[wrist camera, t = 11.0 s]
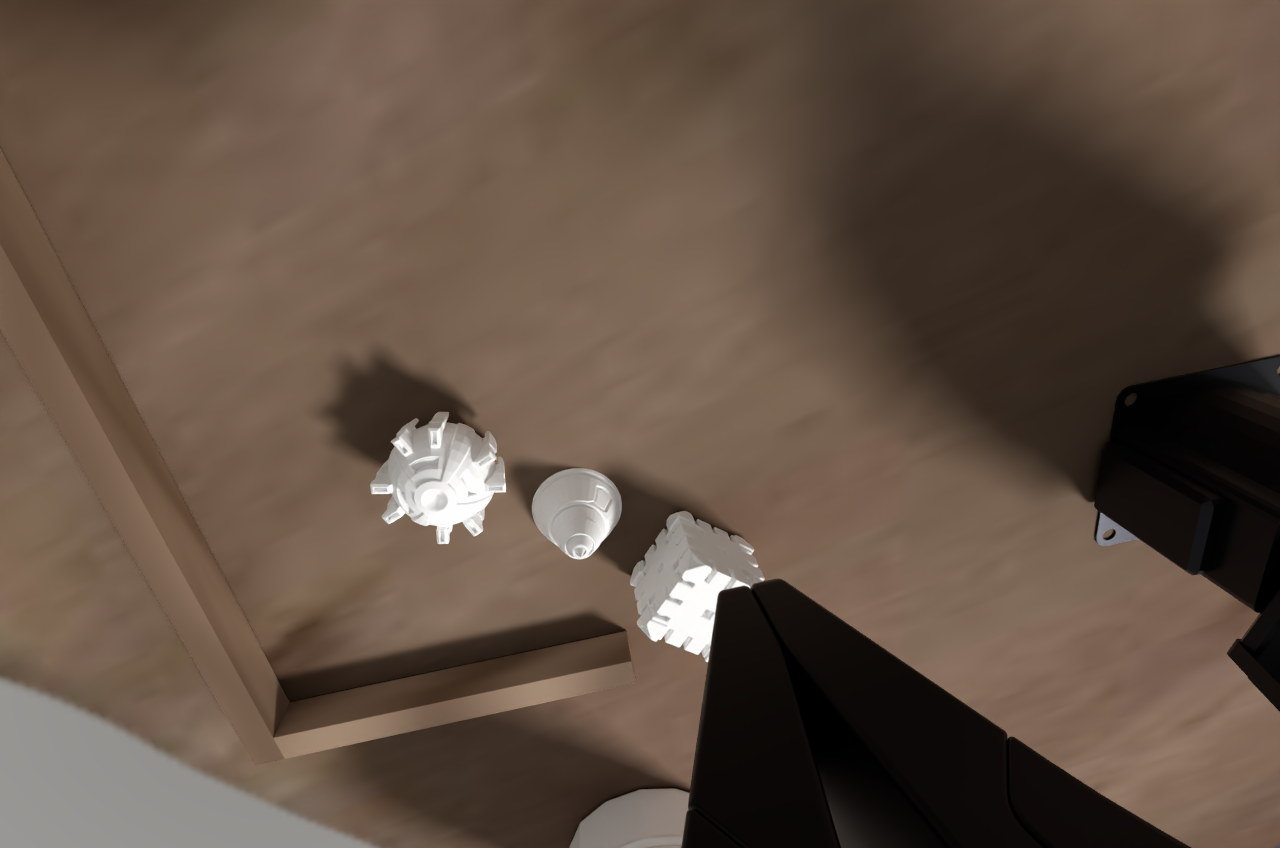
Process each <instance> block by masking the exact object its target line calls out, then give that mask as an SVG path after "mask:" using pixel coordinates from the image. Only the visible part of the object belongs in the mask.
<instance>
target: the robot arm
mask: <svg viewBox="0 0 1280 848" xmlns="http://www.w3.org/2000/svg"><path fill="white" fill-rule="evenodd" d="M1279 366H1280V356H1275V357H1270V358H1265V359H1260V360H1255V361H1250V362H1245V363H1240V364H1235V365H1230V366H1225V367H1220V368H1215V369H1210V370H1205V371H1200V372H1195V373H1190V374H1185V375H1181V376H1176V377H1171V378H1166V379H1161V380H1156V381H1151V382H1146V383H1141V384H1136V385H1131V386H1129V387H1126V388H1125V389H1124V390H1122V391H1121V393H1120V394H1119V395H1118V397H1117V400H1116V404H1115V410H1114V417H1113V423H1112V429H1111V436H1110V442H1108V443H1106V444H1105V445H1104V448H1103V451H1102V458H1101V464H1100V471H1099V478H1098V484H1097V491H1096V497H1095V504H1094V507H1095V508H1096V509H1097V510H1098V511H1099V513H1098V520H1097V526H1096V532H1095V540H1096V542H1097V543H1098V544H1100V545H1102V546H1108V545H1113V544H1118V543H1122V542H1127V541H1132V540H1136V539H1140V540H1141V541H1143V542H1144V543H1146V544H1147V545H1148V546H1150V547H1151V548H1153V549H1154V550H1156V551H1157V552H1159V553H1160V554H1161V555H1163V556H1164V557H1166V558H1167V559H1169V560H1170V561H1172V562H1173V563H1174V564H1176V565H1177V566H1179V567H1180V568H1182V569H1183V570H1185V571H1186V572H1187V573H1189V574H1191V575H1197V574H1201V575H1202V576H1204V577H1205V578H1207V579H1208V580H1210V581H1211V582H1213V583H1214V584H1216V585H1217V586H1218V587H1220V588H1221V589H1223V590H1224V591H1226V592H1227V593H1229V594H1230V595H1232V596H1233V597H1235V598H1236V599H1238V600H1239V601H1241V602H1242V603H1243V604H1245V605H1246V606H1248V607H1249V608H1251V609H1252V610H1254V611H1255V612H1257V613H1260V614H1259V615H1258V617H1257V618H1256V620H1255V621H1254V622H1253V624H1252V625H1251V626H1250V628H1249V629H1248V631H1247V632H1246V633H1245V635H1244V636H1243V638H1242V639H1236V641H1235V642H1234V643H1233V645H1232V646H1231V648H1230V649H1229V650H1228V652H1227V654H1228V656H1229V657H1230V658H1231V659H1232V660H1233V661H1234V662H1235V663H1236V664H1237V665H1238V666H1239V668H1240V669H1241V670H1242V671H1243V672H1244V673H1245V674H1246V675H1247V677H1248V678H1249V680H1250V681H1251V682H1252V683H1253V684H1254V685H1255V686H1256V687H1257V688H1258V689H1259V690H1260V691H1261V692H1262V693H1263V694H1264V696H1265V697H1266V698H1267V699H1268V700H1269V701H1270V702H1271V703H1272V704H1273V705H1274V706H1275V707H1276V708H1277V709H1278V710H1279V711H1280V375H1278V374H1277V369H1278V367H1279ZM1131 393H1136V394H1137V399H1136V401H1135V402H1134V403H1133V404H1132V405H1129V406H1126V405H1125V399H1126V397H1127V396H1128V395H1129V394H1131ZM1109 529H1114V534H1113V535H1112V536H1111V537H1110V538H1108V539H1103V534H1104V533H1105V532H1106V531H1107V530H1109ZM681 848H1191V847H1189V846H1187V845H1186V844H1184V843H1182V842H1180V841H1179V840H1177V839H1175V838H1173V837H1172V836H1170V835H1168V834H1166V833H1165V832H1163V831H1161V830H1160V829H1158V828H1156V827H1155V826H1153V825H1151V824H1150V823H1148V822H1146V821H1145V820H1143V819H1141V818H1140V817H1138V816H1136V815H1135V814H1133V813H1131V812H1130V811H1128V810H1126V809H1125V808H1123V807H1121V806H1119V805H1118V804H1116V803H1114V802H1113V801H1111V800H1109V799H1108V798H1106V797H1104V796H1103V795H1101V794H1099V793H1098V792H1096V791H1095V790H1093V789H1092V788H1090V787H1089V786H1087V785H1086V784H1084V783H1082V782H1081V781H1079V780H1078V779H1076V778H1075V777H1073V776H1072V775H1070V774H1069V773H1067V772H1066V771H1064V770H1063V769H1061V768H1059V767H1058V766H1056V765H1055V764H1053V763H1052V762H1050V761H1049V760H1047V759H1046V758H1044V757H1043V756H1041V755H1040V754H1038V753H1037V752H1035V751H1034V750H1032V749H1031V748H1029V747H1028V746H1027V745H1025V744H1024V743H1022V742H1021V741H1019V740H1018V739H1016V738H1015V737H1009V738H1008V740H1007V733H1006V732H1005V731H1004V730H1003V729H1001V728H1000V727H998V726H997V725H995V724H994V723H992V722H991V721H989V720H988V719H986V718H985V717H984V716H982V715H981V714H979V713H978V712H976V711H975V710H973V709H972V708H970V707H969V706H967V705H966V704H964V703H963V702H962V701H960V700H959V699H957V698H956V697H954V696H953V695H951V694H950V693H948V692H947V691H945V690H944V689H942V688H941V687H940V686H938V685H937V684H935V683H934V682H932V681H931V680H929V679H928V678H926V677H925V676H923V675H922V674H920V673H919V672H918V671H916V670H915V669H913V668H912V667H910V666H909V665H907V664H906V663H904V662H903V661H901V660H900V659H898V658H897V657H896V656H894V655H893V654H891V653H890V652H888V651H887V650H885V649H884V648H882V647H881V646H879V645H878V644H876V643H875V642H874V641H872V640H871V639H869V638H868V637H866V636H865V635H863V634H862V633H860V632H859V631H857V630H856V629H855V628H853V627H852V626H850V625H849V624H847V623H846V622H844V621H843V620H841V619H840V618H838V617H837V616H835V615H834V614H833V613H831V612H830V611H828V610H827V609H825V608H824V607H822V606H821V605H819V604H818V603H816V602H815V601H813V600H812V599H811V598H809V597H808V596H806V595H805V594H803V593H802V592H800V591H799V590H797V589H796V588H794V587H793V586H791V585H790V584H789V583H787V582H786V581H784V580H782V579H773V580H768V581H763V582H758V583H754V584H753V585H752V586H751V588H749V587H748V586H739V587H735V588H730V589H725V590H722V591H720V592H719V594H718V597H717V604H716V611H715V618H714V625H713V632H712V639H711V646H710V653H709V660H708V667H707V674H706V681H705V688H704V695H703V702H702V709H701V716H700V723H699V731H698V738H697V745H696V752H695V759H694V766H693V773H692V780H691V787H690V794H689V801H688V811H687V813H686V819H685V826H684V833H683V840H682V846H681Z"/></svg>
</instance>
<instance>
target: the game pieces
mask: <svg viewBox="0 0 1280 848" xmlns="http://www.w3.org/2000/svg"><path fill="white" fill-rule="evenodd" d="M448 417H449V412H437V413H436V414H435V415H434V417H433V418H432V420H431V421H429V423H428V425H425V426H422V427H420V428H418V429H416V428H415V425H416V424H417V423H418V422H419V420H418V419H417V418H415V419H414V420H412V421H411V422H409V423H407V424H406V425H405V426H403V427H402V428H401V429H400V430H399V432H398V433H397V434H396V438H394V439H393V440H392V441H391V442H392V444H393V445H394V446H395V447H394V448H393V450H392V451H391V454H390V456H389V459H388V460H387V461H386V462H385V463H384V464H383V465H382V466H381V468H380V469H379V471H378V472H377V473H376V478H375V480H374V481H372V482H371V484H370V487H371V494H389V493H392V497H391V499H390V501H389V502H388V504H387V506H388V508H387V510H386V511H385V512H384V513H383V515H382V518H383V519H384V520H385V521H386V522H387V523H388V524H390V523H392V522H394V521H395V520H397V519H399V518H400V517H402V516H403V515H404V514H405V513H406V514H407V515H409V516H410V517H411V519H412V521H414V522H416V523H418V524H421V525H424V526H428V525H434V526H437V530H436V533H437V544H448V543H449V540H450V538H449V535H450V532H452V527H453V524H457V523H459V522H462V521H463V523H464V526H465V527H466V528H467V529H468V530H469V531H470V532H471V534H472V535H473V536H476V535H478V534H479V533H481V532H483V526H482V520H484V511H485V507H486V506H487V504H488V503H489V502H490V500H491V498H492V496H493V493H494V492H506V482H505V469H504V461H503V459H502V457H498V464H495V462H494V460H496V459H497V457H496V456H495V453H496V452H497V443H496V440H495V438H494V437H493V435H492V434H491V433H490V432H489V430H488V431H487V432H485V437H484V438H481V437H480V436H479V435H477V434H476V433H475V430H474V429H473V428H471V427H469V426H467V425H465V424H462V423H458V424H454V423H448V422H447V420H448ZM621 512H622V501H621V496H620V493H619V491H618V489H617V487H616V486H615V485H614V483H613V482H612V481H611V480H610V479H609V478H607V477H606V476H604V475H603V474H601V473H599V472H596V471H594V470H590V469H584V468H572V469H567V470H563V471H560V472H558V473H555V474H554V475H552V476H550V477H549V478H547V479H546V480H545V481H544V482H543V483H542V484H541V485H540V487H539V488H538V489H537V491H536V493H535V495H534V497H533V502H532V515H533V519H534V522H535V524H536V526H537V527H538V529H539V530H540V531H541V532H542V533H543V534H544V535H545V536H546V537H547V538H548V539H549V540H550V541H551V542H553V543H554V544H556V545H557V546H558V547H559V548H560V549H561V550H562V551H563V552H564V553H566V554H567V555H568V556H570V557H572V558H575V559H584V558H587V557H589V556H590V555H591V554H592V553H593V552H594V551H595V550H596V549H597V548H598V547H599V545H600V543H601V542H602V541H603V540H604V539H605V538H606V537H607V536H608V535H609V534H610V533H611V532H612V530H613V528H614V527H615V526H616V524H617V522H618V521H619V519H620V515H621ZM666 522H667V523H666V526H667V529H668V530H666V529H662V531H661V532H660V534H659V535H658V537H657V538H656V539H655V542H656V545H657V546H656V545H653V544H652V545H651V547H650V548H649V550H648V551H647V553H646V554H645V555H644V556H645V561H644V560H641V561H640V562H638V563H637V564H636V566H635V567H634V569H633V573H632V576H631V579H630V585H632V586H634V587H636V588H635V590H634V592H635V597H636V600H638V603H637V609H638V614H640V615H641V616H640V618H639V619H638V621H637V625H638V626H639V627H640V628H641V630H642V631H643V632H644V633H645V634H646V635H647V636H648V637H649V638H650V639H651V640H653V641H655V642H656V641H657V640H658V639H659V640H661V639H662V637H663V636H664V637H665V641H666V643H669V644H671V645H674V646H676V647H680V646H681V645H682V644H683V645H684V649H685V650H687V651H689V652H692V653H694V654H697V655H698V654H699V653H700V652H701V651H702V655H703V657H704V658H705V661H706V662H708V660H709V653H710V646H711V639H712V632H713V625H714V618H715V611H716V604H717V597H718V594H719V592H720V591H722V590H725V589H730V588H735V587H739V586H748V587H749V588H751V586H752V585H753V584H754V583H758V582H763V580H764V579H765V578H764V576H763V574H762V572H761V570H760V569H759V568H757V567H758V563H757V561H756V559H755V557H754V556H752V555H751V554H752V553H753V551H754V549H753V547H752V546H751V545H750V544H748V543H747V542H746V541H745V540H744V539H743V538H742V537H739V536H737V535H734V536H733V535H731V536H730V537H729V536H728V534H727V532H725V531H723V530H720V529H718V528H716V527H714V528H713V530H712V528H711V525H710V524H708V523H706V522H703V521H701V520H699V519H697V520H696V521H694V518H693V516H692V514H691V513H689V512H687V511H681V512H677V513H674V514H671V515H670V516H669V517H668V519H667V520H666Z"/></svg>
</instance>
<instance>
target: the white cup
mask: <svg viewBox="0 0 1280 848" xmlns="http://www.w3.org/2000/svg"><path fill="white" fill-rule="evenodd" d="M689 794H690V793H688V792H685V791H682V790H679V789H675V788H668V789H640V790H637V791H634V792H631V793H628V794H625V795H622V796H620V797H617V798H614V799H611V800H609V801H606V802H605V803H603V804H602V805H601V806H600V807H598V808H597V809H596V810H595V811H593V812H592V813H591V814H590V815H588V816H587V817H586V818H585V819H584V820H582V821H581V822H580V824H579V826H578V829H577V831H576V833H575V835H574V838H573V840H572V842H571V844H570V847H569V848H681V846H682V840H683V833H684V826H685V819H686V813H687V811H688V801H689Z"/></svg>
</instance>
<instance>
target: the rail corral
mask: <svg viewBox="0 0 1280 848" xmlns="http://www.w3.org/2000/svg"><path fill="white" fill-rule="evenodd" d="M0 330H1V331H2V333H3V335H4V337H5V338H6V340H7V342H8V343H9V345H10V347H11V349H12V350H13V352H14V354H15V355H16V357H17V359H18V361H19V362H20V364H21V366H22V367H23V369H24V371H25V373H26V374H27V376H28V378H29V379H30V381H31V383H32V385H33V386H34V388H35V390H36V391H37V393H38V395H39V397H40V398H41V400H42V402H43V403H44V405H45V407H46V409H47V410H48V412H49V414H50V415H51V417H52V419H53V421H54V422H55V424H56V426H57V427H58V429H59V431H60V433H61V434H62V436H63V438H64V439H65V441H66V443H67V445H68V446H69V448H70V450H71V451H72V453H73V455H74V457H75V458H76V460H77V462H78V463H79V465H80V467H81V469H82V470H83V472H84V474H85V475H86V477H87V479H88V481H89V482H90V484H91V486H92V487H93V489H94V491H95V493H96V494H97V496H98V498H99V499H100V501H101V503H102V505H103V506H104V508H105V510H106V511H107V513H108V515H109V517H110V518H111V520H112V522H113V523H114V525H115V527H116V529H117V530H118V532H119V534H120V535H121V537H122V539H123V541H124V542H125V544H126V546H127V547H128V549H129V551H130V553H131V554H132V556H133V558H134V559H135V561H136V563H137V565H138V566H139V568H140V570H141V571H142V573H143V575H144V577H145V578H146V580H147V582H148V583H149V585H150V587H151V589H152V590H153V592H154V594H155V595H156V597H157V599H158V600H159V602H160V604H161V606H162V607H163V609H164V611H165V612H166V614H167V616H168V618H169V619H170V621H171V623H172V624H173V626H174V628H175V630H176V631H177V633H178V635H179V636H180V638H181V640H182V642H183V643H184V645H185V647H186V648H187V650H188V652H189V654H190V655H191V657H192V659H193V660H194V662H195V664H196V666H197V667H198V669H199V671H200V672H201V674H202V676H203V678H204V679H205V681H206V683H207V684H208V686H209V688H210V690H211V691H212V693H213V695H214V696H215V698H216V700H217V702H218V703H219V705H220V707H221V708H222V710H223V712H224V714H225V715H226V717H227V719H228V720H229V722H230V724H231V726H232V727H233V729H234V731H235V732H236V734H237V736H238V738H239V739H240V741H241V743H242V744H243V746H244V748H245V750H246V751H247V753H248V755H249V756H250V758H251V760H252V762H253V763H254V765H259V764H263V763H268V762H272V761H277V760H282V759H286V758H291V757H296V756H300V755H305V754H310V753H314V752H319V751H323V750H328V749H333V748H337V747H342V746H347V745H351V744H356V743H360V742H365V741H370V740H374V739H379V738H384V737H388V736H393V735H398V734H402V733H407V732H411V731H416V730H421V729H425V728H430V727H435V726H439V725H444V724H448V723H453V722H458V721H462V720H467V719H472V718H476V717H481V716H486V715H490V714H495V713H499V712H504V711H509V710H513V709H518V708H523V707H527V706H532V705H536V704H541V703H546V702H550V701H555V700H560V699H564V698H569V697H574V696H578V695H583V694H587V693H592V692H597V691H601V690H606V689H611V688H615V687H620V686H624V685H629V684H634V683H636V680H635V673H634V667H633V660H632V654H631V649H630V644H629V640H628V635H627V631H624V632H619V633H614V634H609V635H605V636H600V637H595V638H591V639H586V640H581V641H576V642H572V643H567V644H562V645H558V646H553V647H548V648H543V649H539V650H534V651H529V652H525V653H520V654H515V655H510V656H506V657H501V658H496V659H492V660H487V661H482V662H477V663H473V664H468V665H463V666H459V667H454V668H449V669H444V670H440V671H435V672H430V673H426V674H421V675H416V676H411V677H407V678H402V679H397V680H392V681H388V682H383V683H378V684H374V685H369V686H364V687H359V688H355V689H350V690H345V691H341V692H336V693H331V694H326V695H322V696H317V697H312V698H308V699H303V700H298V701H293V702H289V700H288V698H287V697H286V695H285V693H284V691H283V689H282V687H281V685H280V683H279V681H278V679H277V677H276V675H275V674H274V672H273V670H272V668H271V666H270V664H269V662H268V660H267V658H266V656H265V654H264V652H263V651H262V649H261V647H260V645H259V643H258V641H257V639H256V637H255V635H254V633H253V631H252V629H251V627H250V626H249V624H248V622H247V620H246V618H245V616H244V614H243V612H242V610H241V608H240V606H239V604H238V603H237V601H236V599H235V597H234V595H233V593H232V591H231V589H230V587H229V585H228V583H227V581H226V580H225V578H224V576H223V574H222V572H221V570H220V568H219V566H218V564H217V562H216V560H215V558H214V557H213V555H212V553H211V551H210V549H209V547H208V545H207V543H206V541H205V539H204V537H203V535H202V533H201V532H200V530H199V528H198V526H197V524H196V522H195V520H194V518H193V516H192V514H191V512H190V510H189V509H188V507H187V505H186V503H185V501H184V499H183V497H182V495H181V493H180V491H179V489H178V487H177V486H176V484H175V482H174V480H173V478H172V476H171V474H170V472H169V470H168V468H167V466H166V464H165V463H164V461H163V459H162V457H161V455H160V453H159V451H158V449H157V447H156V445H155V443H154V441H153V440H152V438H151V436H150V434H149V432H148V430H147V428H146V426H145V424H144V422H143V420H142V418H141V416H140V415H139V413H138V411H137V409H136V407H135V405H134V403H133V401H132V399H131V397H130V395H129V393H128V392H127V390H126V388H125V386H124V384H123V382H122V380H121V378H120V376H119V374H118V372H117V370H116V369H115V367H114V365H113V363H112V361H111V359H110V357H109V355H108V353H107V351H106V349H105V347H104V346H103V344H102V342H101V340H100V338H99V336H98V334H97V332H96V330H95V328H94V326H93V324H92V322H91V321H90V319H89V317H88V315H87V313H86V311H85V309H84V307H83V305H82V303H81V301H80V299H79V298H78V296H77V294H76V292H75V290H74V288H73V286H72V284H71V282H70V280H69V278H68V276H67V275H66V273H65V271H64V269H63V267H62V265H61V263H60V261H59V259H58V257H57V255H56V253H55V252H54V250H53V248H52V246H51V244H50V242H49V240H48V238H47V236H46V234H45V232H44V230H43V228H42V227H41V225H40V223H39V221H38V219H37V217H36V215H35V213H34V211H33V209H32V207H31V205H30V204H29V202H28V200H27V198H26V196H25V194H24V192H23V190H22V188H21V186H20V184H19V182H18V181H17V179H16V177H15V175H14V173H13V171H12V169H11V167H10V165H9V163H8V161H7V159H6V158H5V156H4V154H3V152H2V150H1V148H0Z"/></svg>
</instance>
